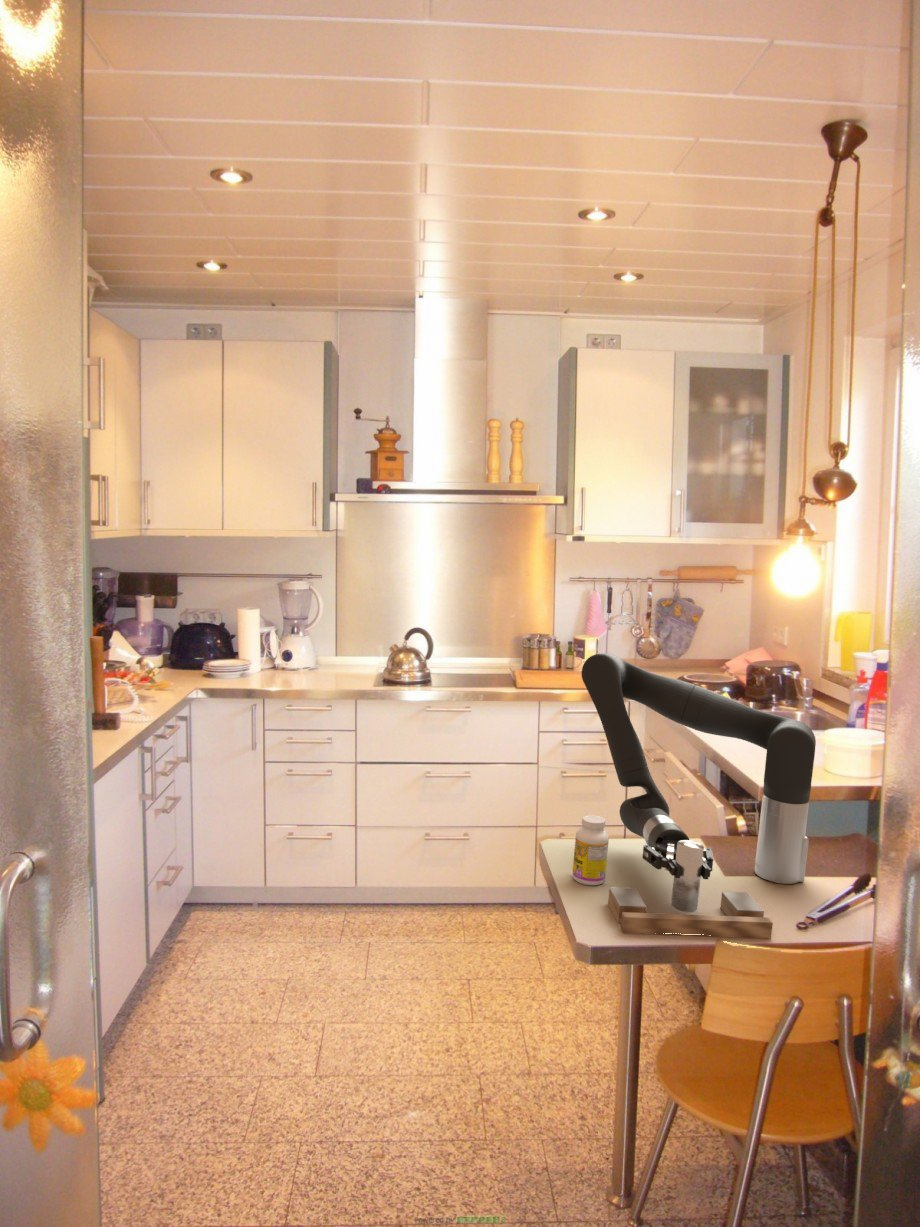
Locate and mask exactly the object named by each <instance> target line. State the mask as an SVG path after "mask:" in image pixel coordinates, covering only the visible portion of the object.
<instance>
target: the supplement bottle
mask: <svg viewBox="0 0 920 1227" xmlns="http://www.w3.org/2000/svg"><path fill="white" fill-rule="evenodd" d="M581 818H582V819H581V825H582V827H580V828H578V829H577V831H575V842H574V853H573V862H572V863H573V864H572V878H573V879H574V881H576V882H577V883H579V884H582V885H585V886H597V885H601V884H603V883H604V882H605V880H606V874H607V873H606V872H607V862H608V861H607V860H608V853H609V852H608V851H609V839H610V836H609V834H608V832H607V831H606V830H605V827H606V819H605V818H604V817H602V816H599V815H595V814H586V815H583V816H582V817H581Z"/></svg>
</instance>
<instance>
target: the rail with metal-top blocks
mask: <svg viewBox="0 0 920 1227" xmlns="http://www.w3.org/2000/svg"><path fill="white" fill-rule="evenodd" d="M608 891H609V892H608V901H607V904H608V906H609V908H610V910H611V913H612V915H613V916H614V919H615V920H616V922H617V923H618V924H620V929H621V931H622V933H623V934H631V933H633V934H634V933H645V934H644V935H658V934H663V933H664V934H665V933H672V934H673V933H674V934H675V933H677V934H678V933H679V934H680V933H681V934H701V935H702V934H704V935H711V936H710V937H715V936H716V937H717V938H718V937H719V938H744V939H745V938H746V939H747V938H748V939H749V938H751V939H752V938H753V939H772V934H773V933H772V932H773V924H774V922H773V921H772V920H771V919H770V918H769V917H765V916H764V915H765V911H764V909H763V908H762V907H761V906H760V905H759V904H758V903H757V901H755V899H754V898H753V897H752V896H751V895H750V893H749V892H745V891H744V892H743V891H721V900H720V909H721V911H722V912H723V913H724V914H725V915H713V914H712V915H711V914H709V915H707V914H685V913H683V914H681V913H658V912H657V913H653V912H651V913H649V912H647V905H646V904H645V902H644V900H643V898H642V897H641V894H639V892H638V890H637V889H636V887H613V886H609V888H608ZM647 933H648V934H647ZM649 933H650V934H649ZM655 933H656V934H655ZM633 934H632V935H633ZM634 935H635V934H634Z"/></svg>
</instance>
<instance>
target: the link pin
mask: <svg viewBox="0 0 920 1227" xmlns="http://www.w3.org/2000/svg"><path fill="white" fill-rule="evenodd" d="M704 850H705V846H704V845H703V844H702V843H700V842H698V841H695V840H690V839H689V840H681V841H678V842H677V851H676V862H677V863H678V864H679V866H680V867H681V873H680V878H675V877H674V876H673V882H672V893H671V901H670V902H671V903H670V904H671V907H672V908H673V909H674V910H677V911H679V912H682V913H683V912H685V913H694V912H696V911H697V910H698V908H699V907H698V906H699V896H700V887H701V879H702V876H701V870H702V860H703V851H704Z"/></svg>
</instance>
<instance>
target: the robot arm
mask: <svg viewBox="0 0 920 1227" xmlns="http://www.w3.org/2000/svg"><path fill="white" fill-rule="evenodd" d="M580 672H581V679H582V682H583V684H584V686H585V688H586V690H587V692H588V695H589V696H590V698H591V701H592V703H593V705H594V707H595V711H596V712H597V715H598V717H599V720H600V721H601V726H602V728H603V731H604V734H605V737H606V738H605V739H606V741H607V744H608V748H609V752H610V756H611V758H612V762H613V766H614V769H615V772H616V776H617V779H618V782H619V784H620V785H621V786H622V787H624V788H633V787H640V788H642V789H643V790H644V791H645V794H640V795H638V796H634V797H629V798H627V799H625V800H624V801H622V802H621V805H620V806H619V807H620V808H619V817H620V820H621V821H622V822H621V823H623V825H624V826H625V828H627V830H629V831H630V832H631V833H633V834H635V835H637V836H639V837H640V838H641V837H642V838H643V839H644V841H645V844H644V845H643V847H642V860H644V861H646V862H647V863H648V864H650V865H651V866H652V867H653V868H655V869H657V870H662V868H664V870H665V871H667V872H669V874H670V875H671V876H673V878H674V877H675V878H680V873H681V867H680V866H679V864H678V863H677V862H676V851H677V842H678V841H681V840H690V838H689V836H688V835H687V834H686V833H685V831H684V830H683V829H682V828H681V827H680V826H679V824H678V823H677V822H676V821H675V820H673V819H672V818H671V817H670V808H669V804H668V802H667V800H666V799H665V797H664V796H663V794H662V793H661V791H660V790H659V788H658V786H657V784H656V783H655V781H654V779H653V777H652V775H651V772H650V769H649V766H648V763H647V759H646V757H645V756H646V755H645V753H644V749H643V746H642V744H641V740H640V738H639V737H638V734H637V731H636V730H635V728H634V726H633V723H632V721H631V719H630V716H629V714H628V710H627V708H626V705H625V699H628V700H631V701H635V702H637V703H640V704H641V705H644V706H646V707H647V708H649V709H651V710H653V711H654V712H656V713H657V714H659V715H661V716H663V717H664V718H667V719H668V720H670V721H673V722H674V723H676V724H679V725H682V726H683V727H684V726H685V727H686V728H690V729H693V730H695V731H698V732H701V733H705V734H709V735H714V736H720V737H726V738H732V739H737V740H742V741H745V742H748V743H750V744H753V745H756V746H758V747H760V748H762V749H764V750H766V753H765V754H766V756H765V764H764V775H763V790H762V800H761V808H760V809H761V810H760V817H759V825H758V826H759V827H758V836H757V844H756V845H757V846H756V851H755V861H754V874H756V875H757V876H758V877H760V878H761V879H764V880H766V881H769V882H771V883H777V884H783V885H787V884H788V885H791V884H797V883H800V882H805V874H806V867H807V866H806V865H807V858H808V849H809V841H810V840H809V837H808V836H807V835H806V832H807V831H806V830H807V823H808V813H809V804H810V799H811V798H810V796H811V791H812V790H811V789H812V781H813V780H812V779H813V773H814V772H813V770H814V763H815V756H816V755H815V754H816V746H817V744H816V743H817V742H816V735H815V734H814V732H813V730H812V729H811V727H809V725H807V724H805V722H802V721H800V720H797V719H794V718H791V717H789V718H788V717H785V716H782V715H781V716H780V715H779V714H778V715H777V714H773V713H770V712H766V711H763V710H759V709H756V708H753V707H750V706H748V705H746V704H744V703H742V702H739V701H737V700H735V699H732V698H730V697H728V696H725V695H723V694H720V693H718V692H716V691H713V690H711V689H708V688H705V687H701V686H699V685H697V684H693V683H691V682H688V681H684V680H680V679H678V678H677V679H676V678H673V677H669V676H665V675H660V674H657V673H654V672H650V671H648V670H646V669H643V668H641V667H639V666H636V665H635V664H632V663H631V662H629V661H626V660H625V659H622V658H620V657H618V656H617V655H614V654H612V653H606V652H605V653H603V652H602V653H595V654H593V655H590V656H589V657H588V658H587V659H586V660H585V661H584V663H583V665H582V668H581V671H580ZM714 859H715V858H714V854H713V849H712V848H710V847H704V851H703V860H702V870H701V879H702V880H706V881H707V880H709V878H710V877H711V872H713V870H714V868H713V867H714Z"/></svg>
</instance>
